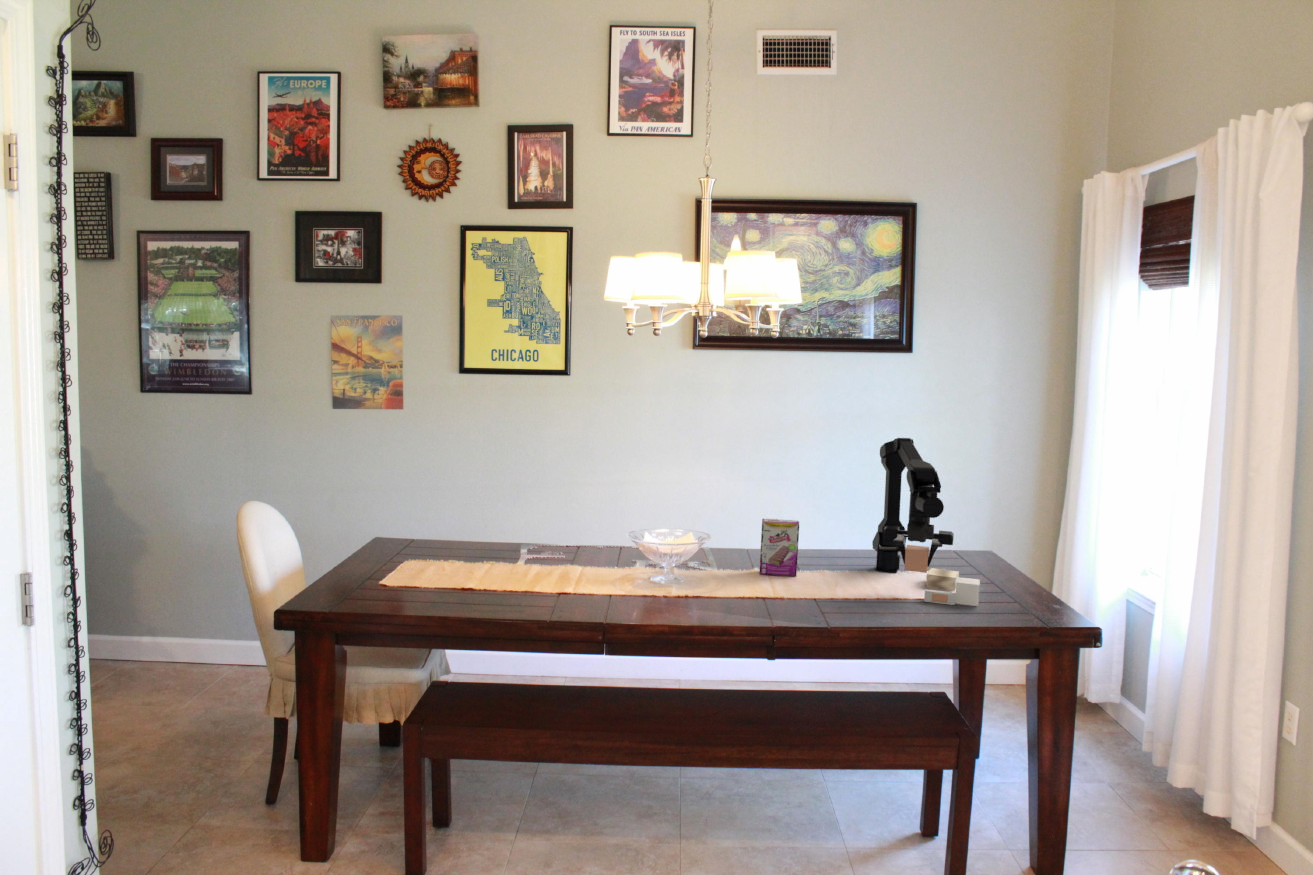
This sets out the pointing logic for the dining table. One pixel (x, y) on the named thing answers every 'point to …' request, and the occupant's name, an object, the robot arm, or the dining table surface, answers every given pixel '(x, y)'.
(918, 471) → the robot arm
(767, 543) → the candy bar box
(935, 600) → the plinth
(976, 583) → the offwhite cube
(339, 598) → the dining table surface
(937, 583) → the base block
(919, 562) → the terracotta cube
